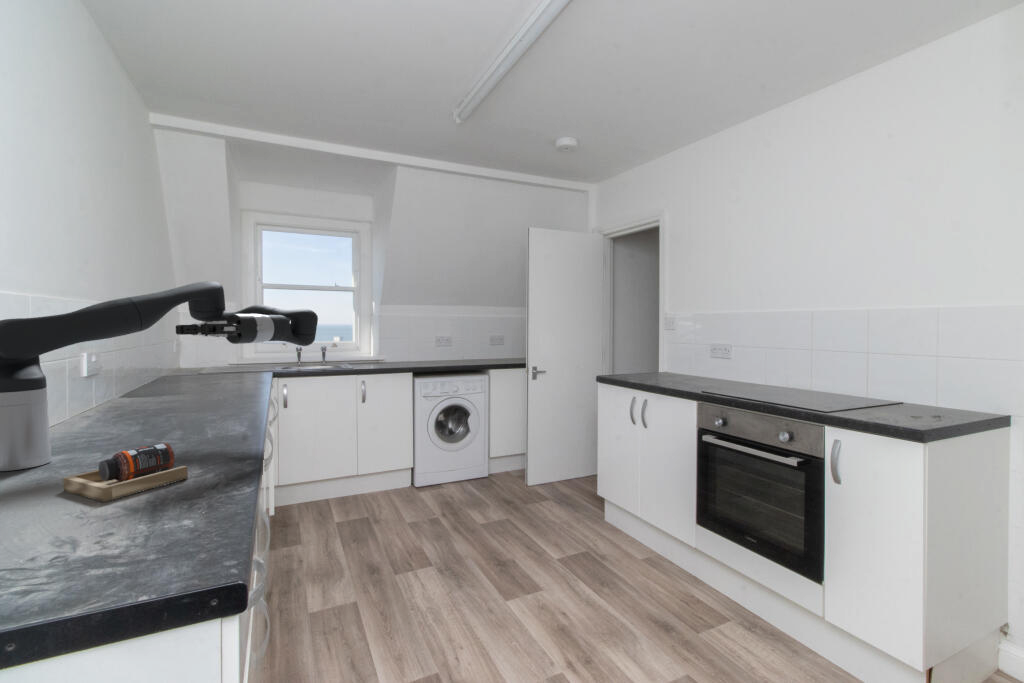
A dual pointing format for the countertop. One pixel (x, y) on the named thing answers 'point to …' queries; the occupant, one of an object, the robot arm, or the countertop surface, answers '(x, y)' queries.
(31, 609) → the countertop surface
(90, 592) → the countertop surface
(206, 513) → the countertop surface
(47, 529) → the countertop surface
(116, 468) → the supplement bottle
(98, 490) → the beech tray
